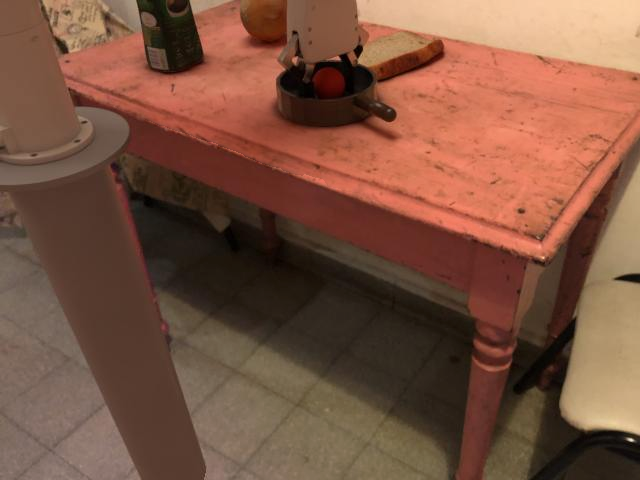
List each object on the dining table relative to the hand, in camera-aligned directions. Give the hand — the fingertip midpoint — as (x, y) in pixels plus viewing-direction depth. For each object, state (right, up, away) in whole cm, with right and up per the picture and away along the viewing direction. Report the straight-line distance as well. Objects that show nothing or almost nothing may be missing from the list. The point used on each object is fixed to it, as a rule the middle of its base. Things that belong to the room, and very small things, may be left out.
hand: (327, 96), depth 91 cm
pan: (0, -1, +1) cm, 1 cm away
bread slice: (+11, +9, +13) cm, 20 cm away
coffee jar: (-27, +10, +15) cm, 33 cm away
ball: (0, +2, -1) cm, 2 cm away
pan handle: (+7, -5, -7) cm, 11 cm away
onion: (-12, +17, +23) cm, 31 cm away
